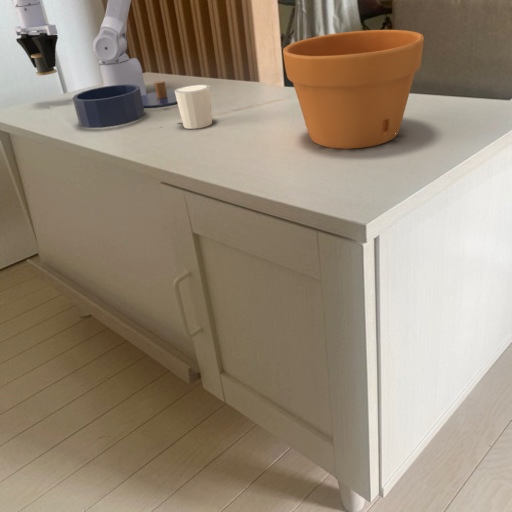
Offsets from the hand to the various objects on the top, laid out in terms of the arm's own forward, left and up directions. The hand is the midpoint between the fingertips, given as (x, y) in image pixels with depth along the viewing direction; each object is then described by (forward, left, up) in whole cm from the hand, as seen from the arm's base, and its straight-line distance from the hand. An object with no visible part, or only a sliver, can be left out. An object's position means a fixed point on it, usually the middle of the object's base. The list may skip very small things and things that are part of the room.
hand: (45, 67), depth 130 cm
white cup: (-19, +46, -10) cm, 50 cm away
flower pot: (-35, +74, -10) cm, 82 cm away
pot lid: (-21, +21, -9) cm, 31 cm away
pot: (-7, +28, -9) cm, 30 cm away
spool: (0, 0, -1) cm, 1 cm away
